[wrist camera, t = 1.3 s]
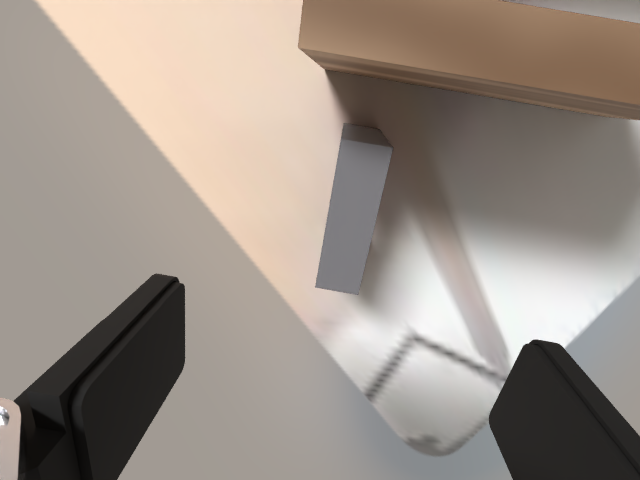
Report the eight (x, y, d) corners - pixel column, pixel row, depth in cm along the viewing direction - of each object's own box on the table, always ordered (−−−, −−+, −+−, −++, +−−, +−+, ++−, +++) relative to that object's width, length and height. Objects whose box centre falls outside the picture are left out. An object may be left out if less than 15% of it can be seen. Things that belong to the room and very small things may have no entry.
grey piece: (343, 123, 23) (340, 139, 15) (379, 129, 23) (393, 148, 15) (324, 231, 26) (315, 287, 19) (355, 237, 26) (358, 294, 19)
